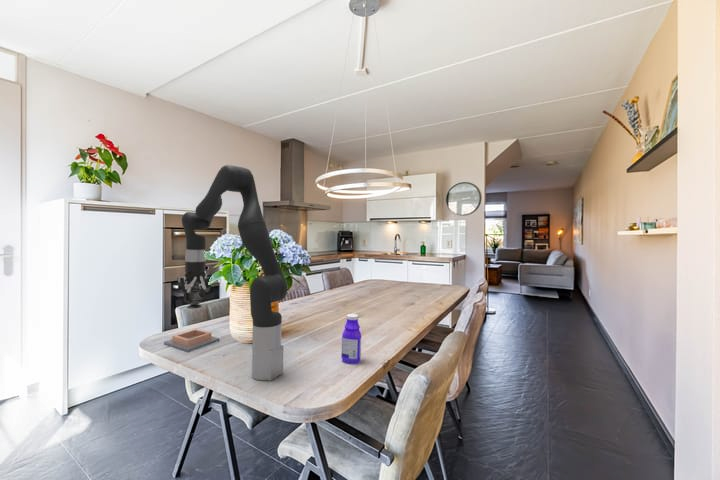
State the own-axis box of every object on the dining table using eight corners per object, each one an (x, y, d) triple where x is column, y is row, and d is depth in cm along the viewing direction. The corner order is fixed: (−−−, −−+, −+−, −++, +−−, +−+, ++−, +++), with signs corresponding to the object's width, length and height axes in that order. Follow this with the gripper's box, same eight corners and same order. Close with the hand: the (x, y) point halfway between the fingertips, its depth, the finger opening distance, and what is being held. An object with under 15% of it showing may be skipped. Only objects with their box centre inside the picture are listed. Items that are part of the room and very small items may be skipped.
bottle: (362, 359, 110) (363, 314, 110) (358, 365, 105) (359, 318, 105) (344, 356, 113) (345, 312, 112) (339, 362, 107) (340, 316, 107)
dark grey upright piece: (195, 309, 118) (195, 280, 118) (182, 307, 120) (183, 279, 119) (205, 305, 124) (206, 278, 124) (193, 304, 125) (194, 277, 125)
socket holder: (219, 340, 125) (219, 332, 125) (187, 352, 113) (188, 343, 113) (195, 334, 132) (196, 326, 132) (163, 344, 120) (163, 336, 120)
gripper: (184, 262, 113) (183, 304, 114) (216, 259, 126) (215, 297, 126) (172, 260, 116) (171, 301, 117) (205, 258, 129) (204, 295, 130)
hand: (194, 299), depth 122 cm, fingers closed on dark grey upright piece, 6 cm apart
